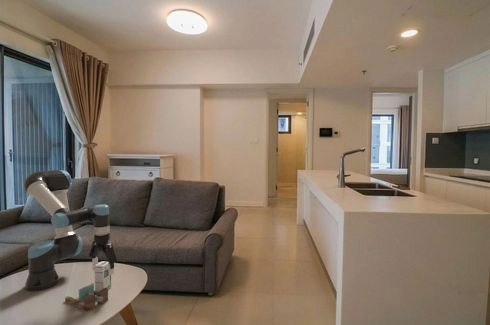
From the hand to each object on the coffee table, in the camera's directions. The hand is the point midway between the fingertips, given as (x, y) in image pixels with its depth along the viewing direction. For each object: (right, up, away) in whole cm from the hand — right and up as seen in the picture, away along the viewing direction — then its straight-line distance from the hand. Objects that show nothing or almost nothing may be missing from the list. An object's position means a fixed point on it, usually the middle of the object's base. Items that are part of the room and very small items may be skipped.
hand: (103, 271), depth 147 cm
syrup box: (0, -10, +1) cm, 10 cm away
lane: (-3, -10, -10) cm, 15 cm away
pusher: (+2, -10, -13) cm, 17 cm away
